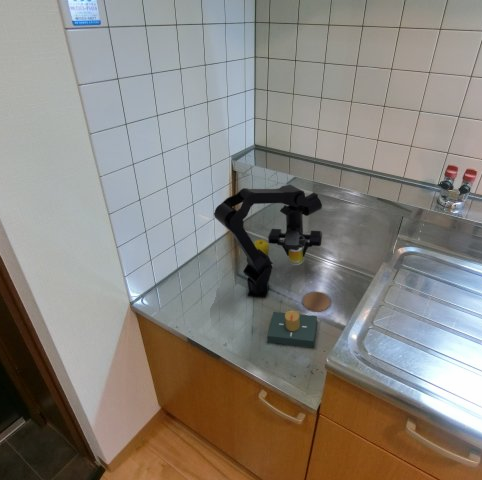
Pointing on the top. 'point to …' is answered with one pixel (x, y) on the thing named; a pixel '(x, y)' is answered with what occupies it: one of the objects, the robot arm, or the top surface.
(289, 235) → the robot arm
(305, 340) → the green dial base
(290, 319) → the tap knob
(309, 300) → the coaster
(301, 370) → the top surface
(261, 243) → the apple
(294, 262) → the supplement bottle
